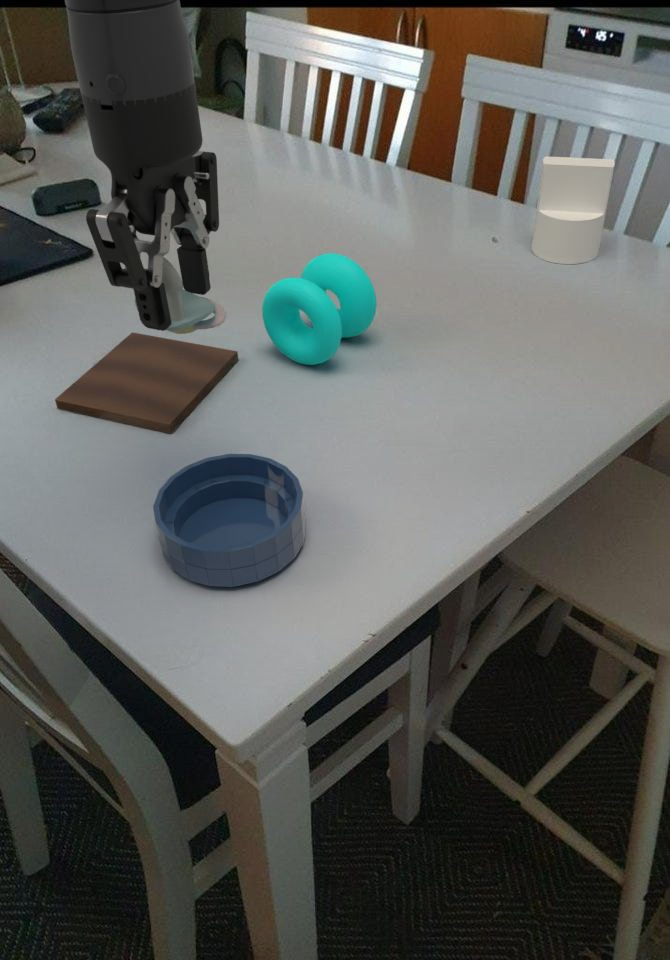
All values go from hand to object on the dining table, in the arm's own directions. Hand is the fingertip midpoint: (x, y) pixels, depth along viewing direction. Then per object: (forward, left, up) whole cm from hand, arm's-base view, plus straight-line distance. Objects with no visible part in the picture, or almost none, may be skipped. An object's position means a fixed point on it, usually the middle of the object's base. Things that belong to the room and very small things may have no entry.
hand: (178, 308), depth 64 cm
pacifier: (+1, 0, -2) cm, 2 cm away
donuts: (+26, -1, -18) cm, 31 cm away
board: (+13, +14, -18) cm, 26 cm away
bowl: (-6, -6, -18) cm, 20 cm away
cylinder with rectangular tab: (+61, -23, -18) cm, 67 cm away
